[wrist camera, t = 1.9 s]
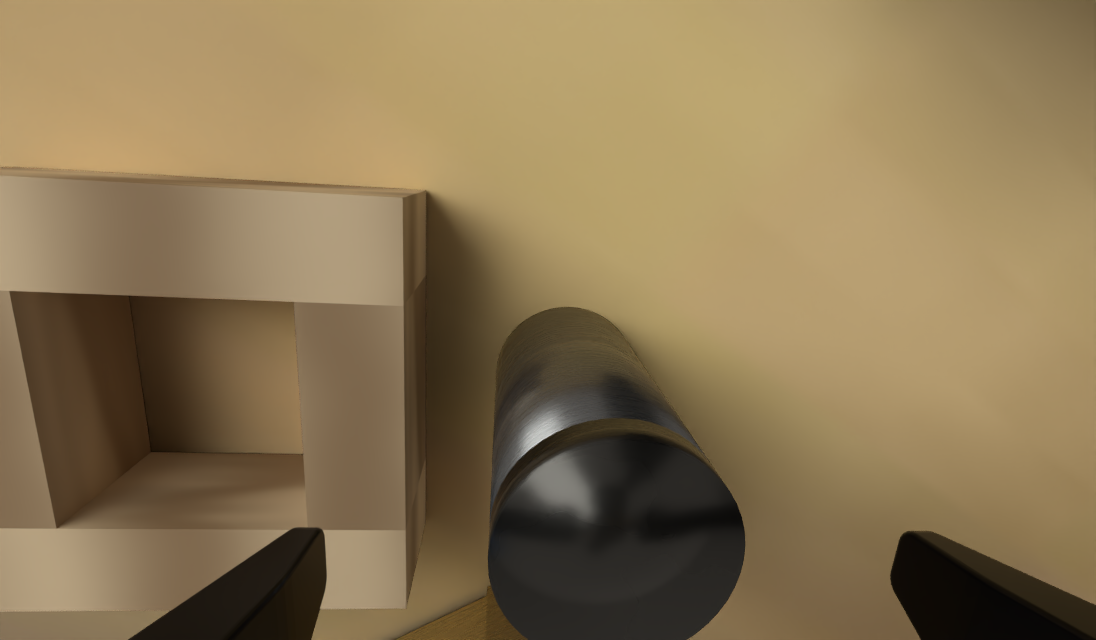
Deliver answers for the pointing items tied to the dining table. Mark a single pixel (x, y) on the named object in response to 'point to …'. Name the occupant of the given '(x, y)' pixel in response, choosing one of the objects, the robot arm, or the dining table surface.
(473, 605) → the tan rectangular block
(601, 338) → the black cylinder
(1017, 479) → the dining table surface
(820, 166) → the dining table surface
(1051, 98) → the dining table surface
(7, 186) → the dock block
